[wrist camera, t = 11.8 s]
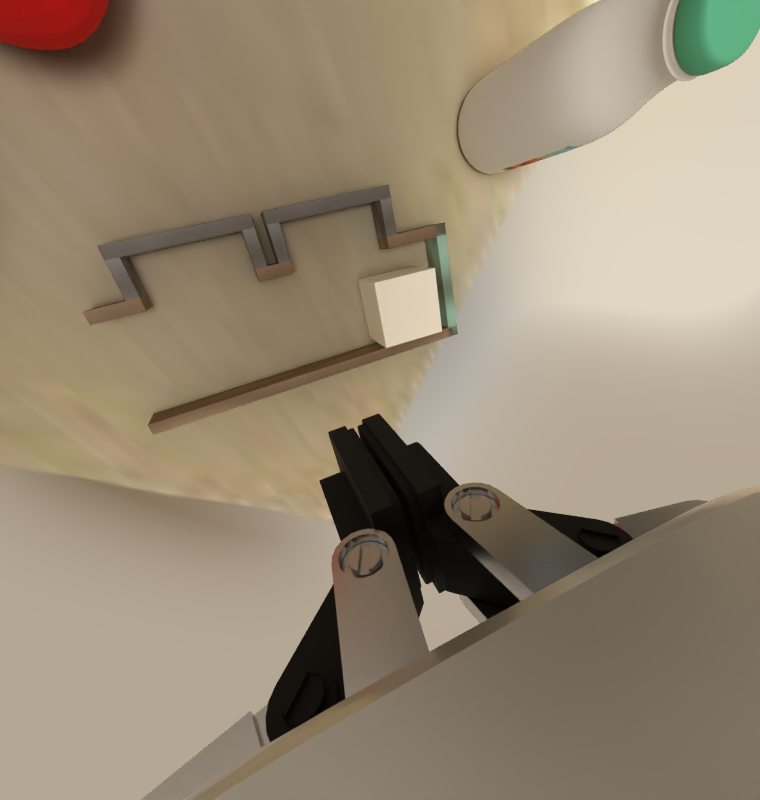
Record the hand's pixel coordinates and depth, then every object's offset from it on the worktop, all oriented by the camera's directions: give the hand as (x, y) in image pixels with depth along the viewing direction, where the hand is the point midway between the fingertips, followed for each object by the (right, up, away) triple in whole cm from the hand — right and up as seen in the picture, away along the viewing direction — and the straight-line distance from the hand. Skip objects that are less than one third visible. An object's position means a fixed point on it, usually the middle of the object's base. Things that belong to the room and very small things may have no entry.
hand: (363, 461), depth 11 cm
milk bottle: (+11, +28, +24) cm, 38 cm away
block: (+2, +12, +26) cm, 29 cm away
